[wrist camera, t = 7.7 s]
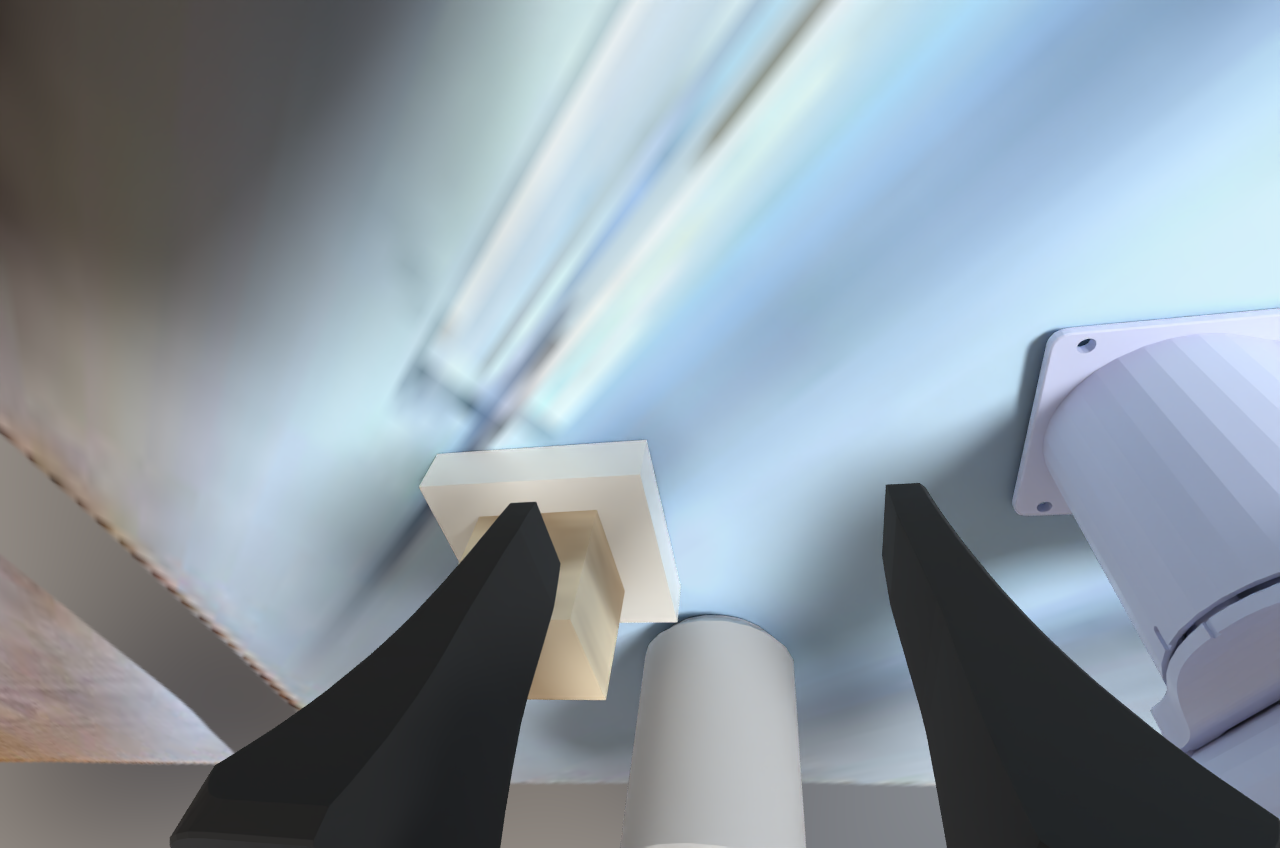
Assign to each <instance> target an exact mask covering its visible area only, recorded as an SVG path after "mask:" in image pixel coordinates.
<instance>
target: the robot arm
mask: <svg viewBox="0 0 1280 848" xmlns="http://www.w3.org/2000/svg"><path fill="white" fill-rule="evenodd" d="M1085 339H1090V341H1089V343H1087V344H1086V345H1084V346H1080V347H1077V346H1078V344H1079V343H1080V342H1081V341H1083V340H1085ZM1043 502H1045V503H1044V504H1040V503H1043ZM1012 505H1013V508H1014V510H1015V511H1016V513H1017V514H1019V515H1022V516H1041V515H1068V514H1073V516H1074V518H1075V520H1076V521H1077V523H1078V525H1079V527H1080V529H1081V531H1082V532H1083V534H1084V536H1085V538H1086V540H1087V542H1088V543H1089V545H1090V547H1091V549H1092V551H1093V553H1094V554H1095V556H1096V558H1097V560H1098V562H1099V563H1100V565H1101V567H1102V569H1103V571H1104V573H1105V574H1106V576H1107V578H1108V580H1109V582H1110V584H1111V585H1112V587H1113V589H1114V591H1115V593H1116V595H1117V596H1118V598H1119V600H1120V602H1121V604H1122V605H1123V607H1124V609H1125V611H1126V613H1127V615H1128V616H1129V618H1130V620H1131V622H1132V624H1133V626H1134V627H1135V629H1136V631H1137V633H1138V635H1139V637H1140V638H1141V640H1142V642H1143V644H1144V646H1145V648H1146V649H1147V651H1148V653H1149V655H1150V657H1151V658H1152V660H1153V662H1154V664H1155V666H1156V668H1157V669H1158V671H1159V673H1160V675H1161V677H1162V679H1163V680H1164V682H1165V684H1166V686H1167V691H1166V694H1165V696H1164V697H1163V698H1162V700H1161V701H1160V702H1159V703H1157V704H1156V705H1155V706H1154V707H1152V709H1151V710H1150V711H1151V713H1152V715H1153V717H1154V719H1155V721H1156V723H1157V725H1158V727H1159V729H1160V731H1161V733H1162V735H1163V736H1162V735H1161V734H1159V733H1158V732H1157V731H1155V730H1154V729H1153V728H1152V727H1150V726H1149V725H1148V724H1147V723H1146V722H1144V721H1143V720H1142V719H1141V718H1140V717H1138V716H1137V715H1136V714H1135V713H1133V712H1132V711H1131V710H1130V709H1129V708H1127V707H1126V706H1125V705H1124V704H1122V703H1121V702H1120V701H1119V700H1118V699H1116V698H1115V697H1114V696H1113V695H1111V694H1110V693H1109V692H1108V691H1107V690H1105V689H1104V688H1103V687H1102V686H1100V685H1099V684H1098V683H1097V682H1096V681H1095V680H1094V679H1092V678H1091V677H1090V676H1089V675H1088V674H1087V673H1086V672H1085V671H1084V670H1082V669H1081V668H1080V667H1079V666H1078V665H1077V664H1076V663H1075V662H1074V661H1072V660H1071V659H1070V658H1069V657H1068V656H1067V655H1066V654H1065V653H1064V652H1063V651H1062V650H1061V649H1060V648H1059V647H1058V646H1057V645H1055V644H1054V643H1053V642H1052V641H1051V640H1050V639H1049V638H1048V637H1047V636H1046V635H1045V634H1044V633H1043V632H1042V631H1041V630H1040V629H1039V628H1038V627H1037V626H1036V625H1035V624H1034V623H1033V622H1032V621H1031V620H1030V619H1029V618H1028V617H1027V616H1026V615H1025V613H1024V612H1023V611H1022V610H1021V609H1020V608H1019V607H1018V606H1017V605H1016V604H1015V603H1014V602H1013V600H1012V599H1011V598H1010V597H1009V596H1008V595H1007V594H1006V593H1005V592H1004V591H1003V590H1002V588H1001V587H1000V586H999V585H998V584H997V583H996V581H995V580H994V579H993V578H992V577H991V576H990V574H989V573H988V572H987V571H986V570H985V568H984V567H983V566H982V565H981V564H980V562H979V561H978V560H977V559H976V557H975V556H974V555H973V554H972V553H971V551H970V550H969V549H968V548H967V546H966V545H965V544H964V542H963V541H962V540H961V539H960V537H959V536H958V535H957V533H956V532H955V530H954V529H953V528H952V526H951V525H950V524H949V522H948V521H947V520H946V518H945V517H944V515H943V514H942V512H941V511H940V510H939V508H938V507H937V505H936V504H935V502H934V501H933V499H932V497H931V496H930V494H929V493H928V491H927V489H926V488H925V487H924V486H923V485H921V484H920V483H911V484H890V485H886V494H885V512H884V530H883V549H882V557H883V564H884V570H885V576H886V582H887V588H888V594H889V600H890V605H891V609H892V612H893V616H894V619H895V623H896V626H897V630H898V633H899V637H900V641H901V644H902V647H903V651H904V654H905V658H906V661H907V665H908V668H909V672H910V675H911V679H912V682H913V686H914V689H915V693H916V696H917V700H918V703H919V707H920V710H921V714H922V718H923V722H924V726H925V730H926V735H927V739H928V745H929V750H930V755H931V761H932V766H933V772H934V777H935V782H936V788H937V793H938V798H939V805H940V810H941V815H942V822H943V827H944V833H945V838H946V844H947V848H1280V308H1277V309H1266V310H1256V311H1245V312H1234V313H1223V314H1212V315H1201V316H1191V317H1180V318H1169V319H1158V320H1147V321H1136V322H1126V323H1115V324H1104V325H1093V326H1082V327H1071V328H1065V329H1061V330H1059V331H1057V332H1055V333H1053V334H1052V335H1051V336H1050V337H1049V339H1048V341H1047V343H1046V348H1045V353H1044V357H1043V362H1042V366H1041V371H1040V375H1039V380H1038V385H1037V389H1036V394H1035V398H1034V403H1033V408H1032V412H1031V417H1030V421H1029V426H1028V431H1027V435H1026V440H1025V444H1024V449H1023V454H1022V458H1021V463H1020V467H1019V472H1018V477H1017V481H1016V486H1015V490H1014V495H1013V499H1012ZM560 565H561V563H560V561H559V558H558V556H557V553H556V551H555V548H554V545H553V543H552V540H551V538H550V535H549V533H548V530H547V528H546V525H545V523H544V520H543V518H542V515H541V513H540V510H539V508H538V505H537V502H519V503H510V504H509V505H508V506H507V507H506V508H505V510H504V511H503V512H502V513H501V514H500V516H499V517H498V518H497V519H496V520H495V522H494V523H493V524H492V525H491V526H490V528H489V529H488V530H487V531H486V532H485V534H484V535H483V536H482V537H481V539H480V540H479V541H478V542H477V543H476V545H475V546H474V547H473V548H472V549H471V551H470V552H469V553H468V554H467V555H466V557H465V558H464V559H463V560H462V561H461V562H460V564H459V565H458V566H457V567H456V568H455V569H454V571H453V572H452V573H451V574H450V575H449V576H448V578H447V579H446V580H445V581H444V582H443V583H442V584H441V585H440V586H439V587H438V589H437V590H436V591H435V592H434V593H433V594H432V595H431V596H430V597H429V598H428V599H427V600H426V601H425V603H424V604H423V605H422V606H421V607H420V608H419V609H418V610H417V611H416V612H415V613H414V614H413V615H412V616H411V617H410V618H409V619H408V620H407V621H406V622H405V623H404V624H403V625H402V626H401V627H400V628H399V629H398V630H397V631H396V632H395V633H394V634H393V635H392V636H391V637H389V638H388V639H387V640H386V641H385V642H384V643H383V644H382V645H381V646H380V647H379V648H377V649H376V650H375V651H374V652H373V653H372V654H371V655H370V656H368V657H367V658H366V659H365V660H364V661H362V662H361V663H360V664H359V665H357V666H356V667H355V668H354V669H353V670H351V671H350V672H349V673H348V674H346V675H345V676H344V677H343V678H342V679H340V680H339V681H338V682H337V683H335V684H334V685H333V686H332V687H331V688H329V689H328V690H327V691H325V692H324V693H323V694H321V695H320V696H319V697H317V698H316V699H315V700H313V701H312V702H311V703H309V704H308V705H307V706H305V707H304V708H302V709H301V710H300V711H298V712H297V713H295V714H294V715H292V716H291V717H290V718H288V719H287V720H285V721H284V722H283V723H281V724H280V725H278V726H277V727H275V728H274V729H272V730H271V731H269V732H268V733H266V734H264V735H263V736H261V737H260V738H258V739H257V740H255V741H253V742H252V743H250V744H249V745H247V746H246V747H244V748H242V749H241V750H239V751H238V752H236V753H234V754H233V755H231V756H230V757H228V758H227V759H225V760H223V761H222V762H220V763H218V764H217V765H215V766H214V768H213V770H212V771H211V772H210V774H209V776H208V777H207V779H206V780H205V782H204V784H203V785H202V787H201V789H200V790H199V792H198V793H197V795H196V797H195V798H194V800H193V801H192V803H191V805H190V806H189V808H188V810H187V811H186V813H185V814H184V816H183V818H182V819H181V821H180V823H179V824H178V826H177V827H176V829H175V831H174V832H173V834H172V836H171V837H170V847H171V848H500V845H501V838H502V831H503V824H504V817H505V810H506V804H507V798H508V792H509V786H510V780H511V774H512V768H513V763H514V758H515V752H516V747H517V742H518V736H519V731H520V726H521V721H522V717H523V713H524V709H525V705H526V702H527V698H528V695H529V692H530V688H531V685H532V681H533V678H534V675H535V671H536V668H537V665H538V661H539V658H540V654H541V651H542V648H543V644H544V641H545V637H546V634H547V630H548V627H549V623H550V620H551V616H552V613H553V609H554V604H555V598H556V592H557V586H558V579H559V572H560Z"/></svg>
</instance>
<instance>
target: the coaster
mask: <svg viewBox="0 0 1280 848" xmlns="http://www.w3.org/2000/svg"><path fill="white" fill-rule="evenodd" d="M419 488H420V490H421V492H422V494H423V496H424V498H425V499H426V501H427V503H428V505H429V507H430V509H431V511H432V512H433V514H434V516H435V518H436V520H437V522H438V524H439V526H440V527H441V529H442V531H443V533H444V535H445V537H446V539H447V540H448V542H449V544H450V546H451V548H452V550H453V552H454V553H455V555H456V557H457V559H458V561H459V562H460V560H461V557H462V555H463V553H464V550H465V548H466V546H467V544H468V541H469V539H470V537H471V534H472V532H473V530H474V528H475V525H476V523H477V521H478V518H479V517H483V516H500V514H501V513H502V512H503V511H504V510H505V508H506V507H507V506H508V505H509V504H510V503H519V502H537V505H538V508H539V510H540V513H552V512H569V511H586V510H597V512H598V514H599V517H600V520H601V523H602V526H603V529H604V532H605V535H606V538H607V541H608V543H609V546H610V549H611V552H612V555H613V558H614V561H615V564H616V567H617V569H618V572H619V575H620V578H621V581H622V584H623V587H624V590H625V593H624V599H623V605H622V611H621V616H620V622H619V623H644V622H678V612H679V601H680V590H681V584H680V580H679V576H678V572H677V567H676V563H675V559H674V555H673V550H672V546H671V542H670V538H669V533H668V529H667V525H666V521H665V516H664V512H663V508H662V503H661V499H660V495H659V491H658V486H657V482H656V478H655V474H654V469H653V465H652V461H651V457H650V452H649V448H648V444H647V440H636V441H621V442H606V443H591V444H576V445H562V446H547V447H532V448H517V449H503V450H488V451H473V452H458V453H443V454H437V455H436V457H435V459H434V461H433V463H432V464H431V466H430V468H429V470H428V471H427V473H426V475H425V477H424V478H423V480H422V482H421V484H420V486H419Z"/></svg>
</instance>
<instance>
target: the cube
mask: <svg viewBox="0 0 1280 848" xmlns="http://www.w3.org/2000/svg"><path fill="white" fill-rule="evenodd" d="M541 515H542V518H543V520H544V523H545V525H546V528H547V530H548V533H549V535H550V538H551V540H552V543H553V545H554V548H555V551H556V553H557V556H558V558H559V561H560V563H561V565H560V572H559V579H558V586H557V592H556V598H555V604H554V609H553V613H552V616H551V620H550V623H549V627H548V630H547V634H546V637H545V641H544V644H543V648H542V651H541V654H540V658H539V661H538V665H537V668H536V671H535V675H534V678H533V681H532V685H531V688H530V692H529V695H528V698H527V699H543V700H606V697H607V691H608V685H609V679H610V674H611V668H612V662H613V656H614V651H615V645H616V639H617V633H618V628H619V622H620V616H621V611H622V605H623V599H624V593H625V590H624V587H623V584H622V581H621V578H620V575H619V572H618V569H617V567H616V564H615V561H614V558H613V555H612V552H611V549H610V546H609V543H608V541H607V538H606V535H605V532H604V529H603V526H602V523H601V520H600V517H599V514H598V512H597V510H586V511H569V512H552V513H541ZM498 517H499V516H483V517H479V518H478V521H477V523H476V525H475V528H474V530H473V532H472V534H471V537H470V539H469V541H468V544H467V546H466V548H465V550H464V553H463V555H462V557H461V560H460V562H461V561H462V560H463V559H464V558H465V557H466V555H467V554H468V553H469V552H470V551H471V549H472V548H473V547H474V546H475V545H476V543H477V542H478V541H479V540H480V539H481V537H482V536H483V535H484V534H485V532H486V531H487V530H488V529H489V528H490V526H491V525H492V524H493V523H494V522H495V520H496V519H497V518H498ZM460 562H459V564H460ZM459 564H458V565H459Z"/></svg>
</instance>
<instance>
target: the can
mask: <svg viewBox="0 0 1280 848" xmlns="http://www.w3.org/2000/svg"><path fill="white" fill-rule="evenodd" d="M805 841H806V840H805V825H804V811H803V795H802V780H801V765H800V750H799V735H798V721H797V706H796V691H795V676H794V661H793V659H792V657H791V655H790V654H789V652H788V650H787V649H786V647H785V646H784V645H783V644H781V643H780V642H779V641H777V640H776V639H775V638H774V637H772V636H771V635H770V634H768V633H767V632H766V631H764V630H763V629H762V628H760V627H759V626H757V625H755V624H753V623H750V622H748V621H746V620H743V619H740V618H735V617H730V616H725V615H703V616H697V617H692V618H687V619H685V620H683V621H681V622H679V623H677V624H674V625H673V626H672V627H671V628H670V629H667V630H665V631H663V632H661V633H659V634H658V635H657V636H656V637H655V638H654V639H653V640H652V641H651V642H650V643H649V646H648V649H647V652H646V655H645V662H644V669H643V677H642V685H641V692H640V700H639V707H638V715H637V722H636V730H635V738H634V745H633V753H632V760H631V768H630V776H629V783H628V791H627V799H626V806H625V814H624V821H623V829H622V836H621V844H620V848H806V842H805Z"/></svg>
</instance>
